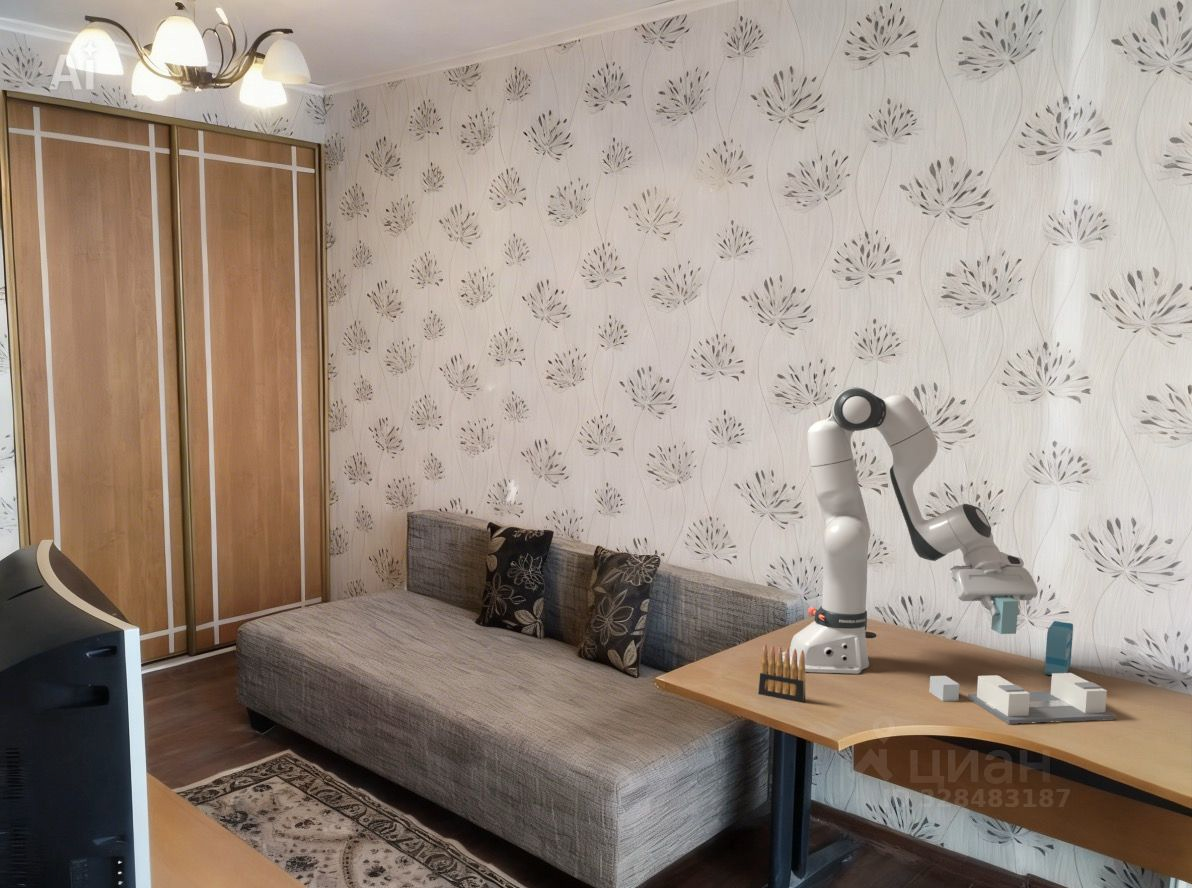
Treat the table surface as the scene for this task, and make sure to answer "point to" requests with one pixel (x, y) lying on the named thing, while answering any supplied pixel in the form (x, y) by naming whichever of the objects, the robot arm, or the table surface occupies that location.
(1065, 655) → the data package
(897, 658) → the table surface
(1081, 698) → the block
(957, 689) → the block
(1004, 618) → the block
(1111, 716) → the rail board
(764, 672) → the ammunition clip
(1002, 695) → the block
